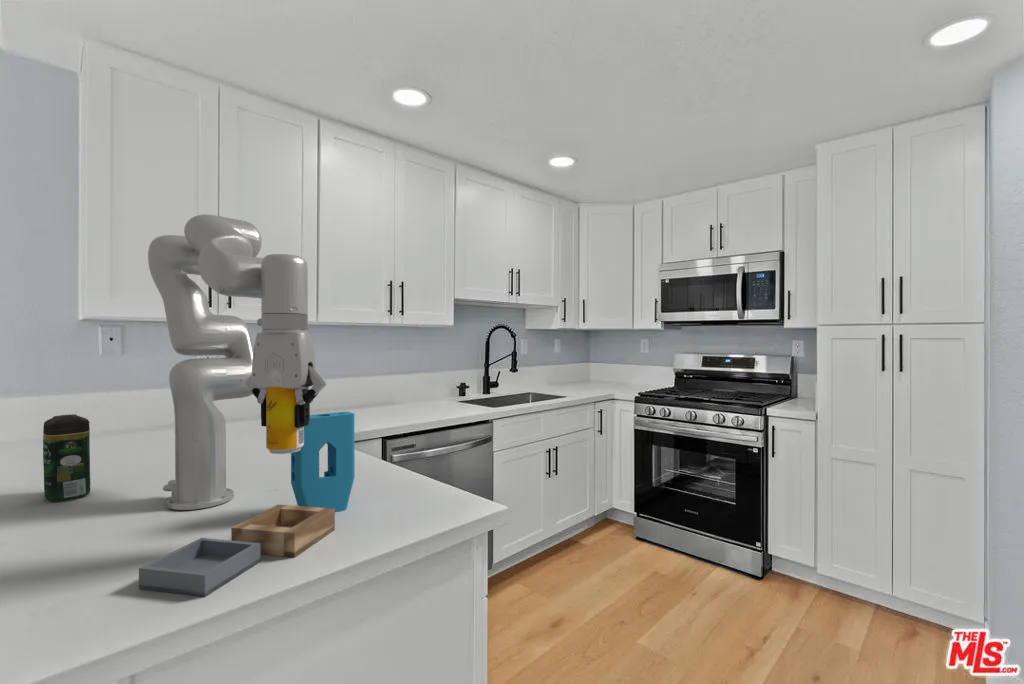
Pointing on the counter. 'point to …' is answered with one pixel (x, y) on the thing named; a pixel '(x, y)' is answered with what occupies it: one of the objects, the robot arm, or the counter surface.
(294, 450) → the beer can
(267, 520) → the shallow wooden box
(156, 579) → the tray
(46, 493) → the coffee jar
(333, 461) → the block
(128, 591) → the counter surface
